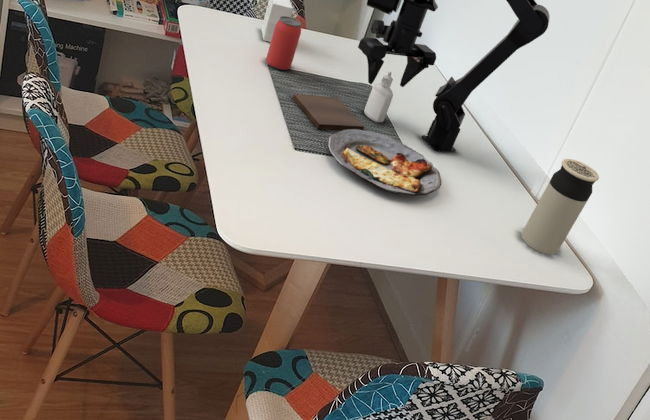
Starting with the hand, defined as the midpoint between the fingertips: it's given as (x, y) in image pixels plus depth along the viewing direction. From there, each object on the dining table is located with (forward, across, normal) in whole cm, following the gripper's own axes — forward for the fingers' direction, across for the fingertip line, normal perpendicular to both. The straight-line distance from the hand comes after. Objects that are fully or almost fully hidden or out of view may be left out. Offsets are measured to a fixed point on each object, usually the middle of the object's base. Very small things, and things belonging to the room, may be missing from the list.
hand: (385, 84), depth 173 cm
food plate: (+9, +11, +23) cm, 27 cm away
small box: (+9, +9, -43) cm, 45 cm away
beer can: (+9, +15, -25) cm, 31 cm away
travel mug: (+9, -12, +50) cm, 52 cm away
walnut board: (+9, +13, 0) cm, 16 cm away
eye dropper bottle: (+9, 0, 0) cm, 9 cm away
